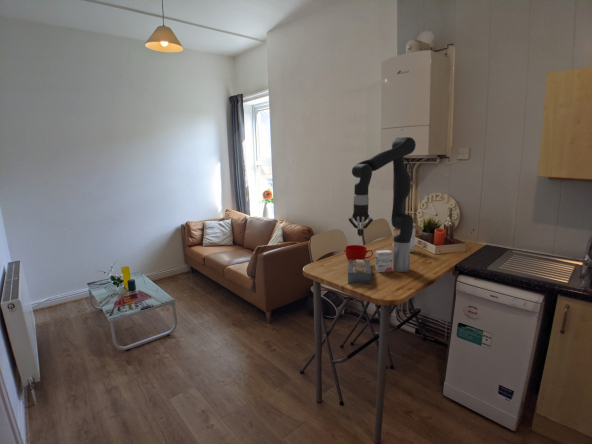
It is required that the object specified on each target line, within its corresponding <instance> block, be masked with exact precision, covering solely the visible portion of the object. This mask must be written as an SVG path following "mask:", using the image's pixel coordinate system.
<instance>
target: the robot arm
mask: <svg viewBox="0 0 592 444" xmlns="http://www.w3.org/2000/svg"><path fill="white" fill-rule="evenodd" d="M415 149H416V141H415V139H414V138H413V137H410V136H409V137H408V136H404V137H403V136H402V137H396V138H395V139H393V141H392V145H391V148H390V149H388V150H384V151H382V152H379V153H376V154H375V155H373V156H371V157H370V158H368V159H365V160H363V161H360V162H358V163H355V165H353V167H352V168H351V174H352V176H353V178H358V179H359V181H358V182H355V184H354V191H353V192H354V193H353V194H354V196H353V213H352V216H350V217H349V218H348V222H349V223H350V224H351V225H352V226H353V228H354V229H357V235H358V237H362V236H363V235H364V230H365V229H367V228H368V227H369V226H370V225H371V224H372V222H373V221H374V219H373V218H372V217H370V214H369V203H370V202H369V201H370V199H369V187H370V183H371V181H372V175H373V172H376V171H378V170H379V169H381V168H383V167H385V166H386V165H388V164H390V163H392V165H393V170H392V171H393V174H392V175H393V181H392V182H393V183H392V185H393V186H392V189H393V191H392V192H393V193H392V195H393V197H392V211H391V219H390V220H391V225H392V228H393V227H394V228H397V229H400V234H399V235H395V236H394V243H393V247H392V248H393V249H392V252H393V255H392V271H394V272H398V273H399V272H400V273H405V272H406V273H407V272H410V270H411V269H410V268H411V267H410V266H411V255H410V254H411V252H410V240H411V237H412V231H413V224H414V218H413V216H412V215H410V214H408V213H404V204H405V202H406V200H407V198H408V196H409V194H410V193H411V188H412V187H411V183H412V182H411V181H412V180H411V176H410V174H409V170H408V169H407V167H406V166H405V160H404V159H405V156H409V155H410V154H412V153H414V151H415ZM354 221H355V222H356V223H355V222H354ZM366 221H367V222H366ZM365 222H366V223H365Z"/></svg>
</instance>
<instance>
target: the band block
mask: <svg viewBox="0 0 592 444" xmlns="http://www.w3.org/2000/svg"><path fill="white" fill-rule="evenodd" d="M370 261H371V260H370V259H364V268H363V271H356V260H352V259H349V261H348V268H347V269H348V270H347V284H351V283H354V284H355V285H372V269H371V262H370Z"/></svg>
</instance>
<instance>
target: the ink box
mask: <svg viewBox="0 0 592 444" xmlns="http://www.w3.org/2000/svg"><path fill="white" fill-rule="evenodd" d="M392 265H393V251H391V250H389V249H388V250H387V249H386V250H384V249H383V250H375V267H374V269H375V271H376V272H377V273H387V272H388V273H389V272H390V273H391V272H393V269H392Z"/></svg>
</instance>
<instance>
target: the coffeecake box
mask: <svg viewBox="0 0 592 444" xmlns="http://www.w3.org/2000/svg"><path fill="white" fill-rule="evenodd" d="M399 234H400V229H397V228H394V227H393V226H392V245H391V246H392V248H393V243H394V236H395V235H399ZM415 240H416V223H413V231H412V237H411V240H410V253H412V252H414V251H415V243H416V241H415Z"/></svg>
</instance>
